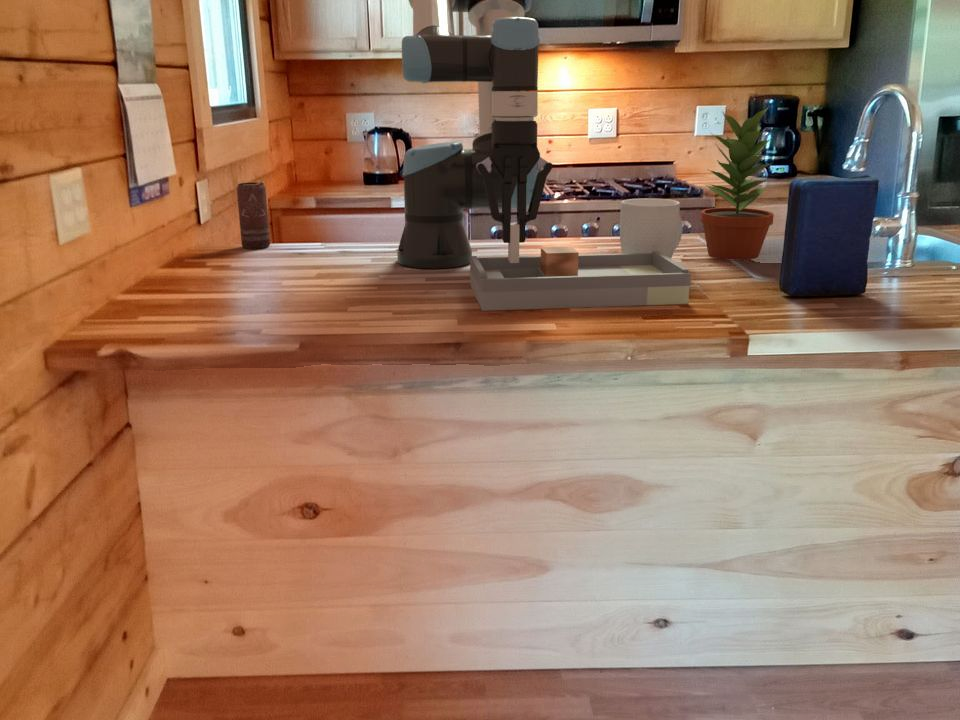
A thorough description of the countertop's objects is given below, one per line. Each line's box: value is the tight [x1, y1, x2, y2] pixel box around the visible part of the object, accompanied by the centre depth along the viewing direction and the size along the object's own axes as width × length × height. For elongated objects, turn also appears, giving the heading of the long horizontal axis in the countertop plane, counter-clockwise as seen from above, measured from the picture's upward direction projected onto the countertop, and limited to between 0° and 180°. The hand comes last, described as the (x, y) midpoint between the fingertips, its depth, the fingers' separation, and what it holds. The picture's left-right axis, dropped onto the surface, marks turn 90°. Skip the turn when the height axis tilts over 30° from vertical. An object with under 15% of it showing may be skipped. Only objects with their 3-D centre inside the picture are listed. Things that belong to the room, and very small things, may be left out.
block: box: [540, 246, 580, 276], centre depth 148 cm, size 6×6×4 cm
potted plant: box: [699, 105, 775, 261], centre depth 173 cm, size 15×15×30 cm
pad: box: [620, 265, 691, 306], centre depth 147 cm, size 7×18×3 cm, turn 7°
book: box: [778, 174, 880, 297], centre depth 141 cm, size 14×5×20 cm, turn 97°
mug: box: [619, 197, 683, 259], centre depth 163 cm, size 15×11×13 cm
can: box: [236, 181, 271, 250], centre depth 187 cm, size 6×6×14 cm
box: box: [469, 251, 692, 312], centre depth 145 cm, size 34×18×6 cm, turn 97°
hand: (513, 261), depth 146 cm, fingers closed
